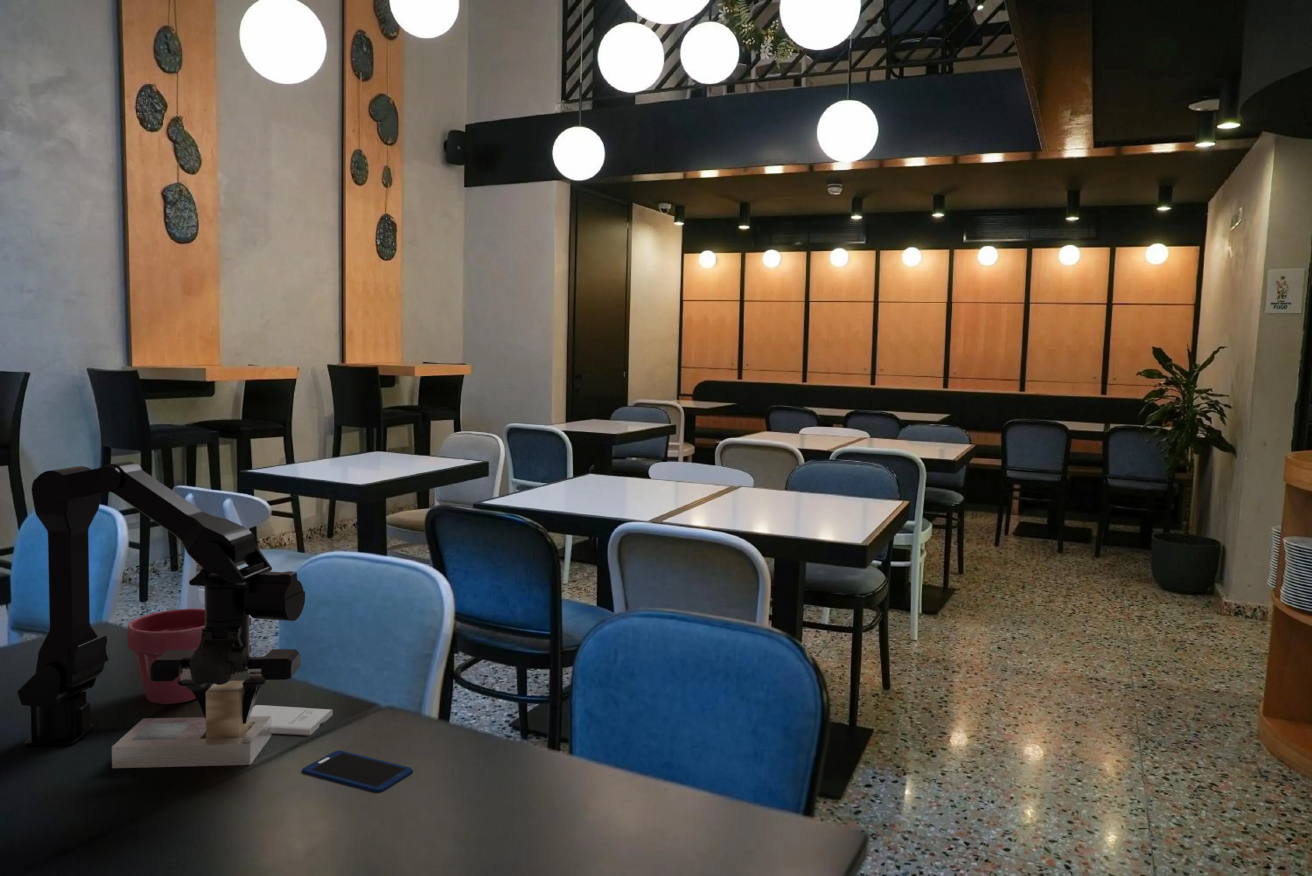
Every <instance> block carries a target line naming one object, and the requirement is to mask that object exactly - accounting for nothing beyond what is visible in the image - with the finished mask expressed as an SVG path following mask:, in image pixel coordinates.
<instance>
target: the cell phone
mask: <svg viewBox="0 0 1312 876" xmlns="http://www.w3.org/2000/svg"><path fill="white" fill-rule="evenodd" d="M301 773H303V774H305V775H309V776H312V777H317V778H320V779H324V780H328V781H331V782H334V783H338V784H343V785H346V786H350V787H354V788H358V789H361V790H366V791H368V792H373V793H383V792H385V791H386V790H388V789H390V788H392V787H393V786H394V785H396V784H398V783H399V782H401V781H403V780H405V779H406V778H407V777H409V776H411V775H412V774H414V769H412V767H409V766H406V765H401V764H397V763H392V762H389V761H385V760H382V759H381V760H380V759H377V758H372V757H368V756H365V755H360V754H356V753H354V752H353V753H352V752H348V751H345V750H335V751H333V752H331V753H329V754H327V755H325V756H323V757H321V758H320V759H317V760H316V761H314V762H312V763H310V764H308V765H306V766H305V767H303V768H302V769H301Z"/></svg>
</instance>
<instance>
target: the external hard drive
mask: <svg viewBox="0 0 1312 876" xmlns="http://www.w3.org/2000/svg"><path fill="white" fill-rule="evenodd" d="M250 716H271V734H278V735H281V734H282V735H294V736H295V735H296V736H311V735H312V734H313V733H315V731H316V730H318V729H319V728H320V726H321V725H322V724H324V723H325V722H327V721H328V720H329V719H330V718H331V717H333V709H325V708H309V707H296V706H295V707H294V706H279V705H265V704H264V705H262V704H261V705H260V704H256V705H255V704H254V706H253V709H252V711H251V714H250Z"/></svg>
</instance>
